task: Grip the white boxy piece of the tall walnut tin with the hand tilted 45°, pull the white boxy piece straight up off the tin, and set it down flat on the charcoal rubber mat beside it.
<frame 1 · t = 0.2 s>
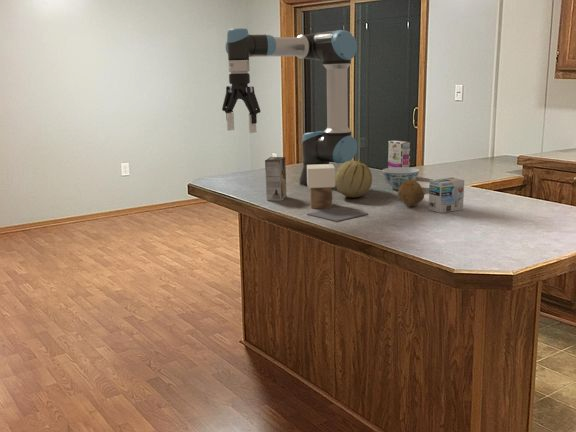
hand: (241, 131, 228), 28 cm above the table, tool pointing down, fingers open, 13 cm apart
chinaware: (400, 188, 258), on the table
candy bar box: (398, 177, 286), on the table
white boxy piece: (320, 185, 228), point 8 cm above the table, touching tin
light bulb box: (445, 210, 217), on the table
cantaloupe: (353, 197, 243), on the table
coffee box: (276, 198, 245), on the table
tin: (321, 205, 229), on the table
mat: (337, 214, 214), on the table
natural sponge: (409, 206, 225), on the table
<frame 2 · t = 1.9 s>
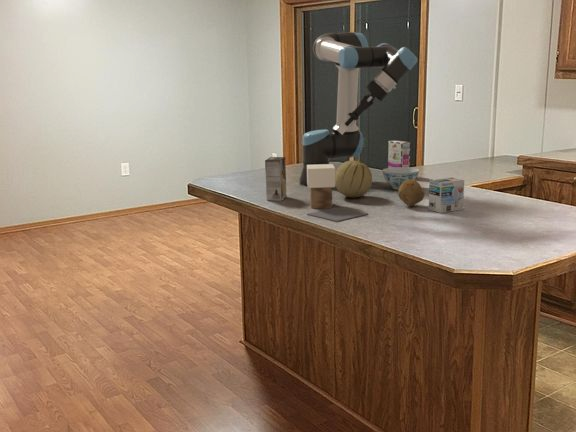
hand: (340, 131, 223), 28 cm above the table, tool tilted 45°, fingers open, 13 cm apart
nothing on the table moved.
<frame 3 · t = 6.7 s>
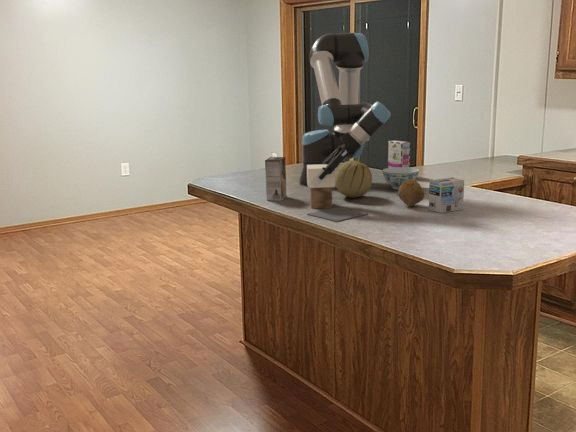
hand: (312, 182, 227), 9 cm above the table, tool tilted 45°, fingers closed on white boxy piece, 10 cm apart
white boxy piece: (320, 185, 228), point 8 cm above the table, touching gripper, tin
everything else where it was.
when the fingers open (4 cm above the table, at t = 14.1 s): white boxy piece drops 3 cm, resting on mat.
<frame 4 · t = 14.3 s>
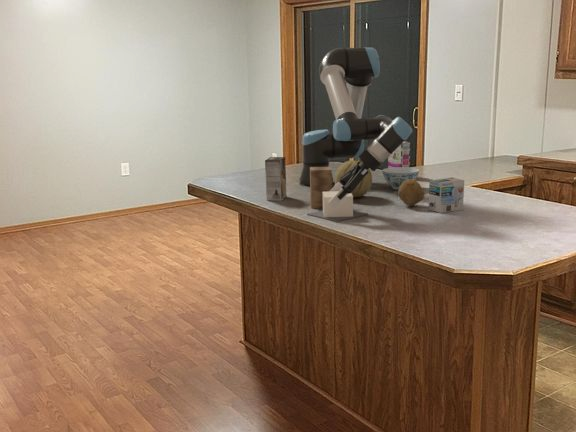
hand: (329, 201, 213), 5 cm above the table, tool tilted 45°, fingers open, 12 cm apart
white boxy piece: (337, 213, 214), resting on mat
everything else where it was.
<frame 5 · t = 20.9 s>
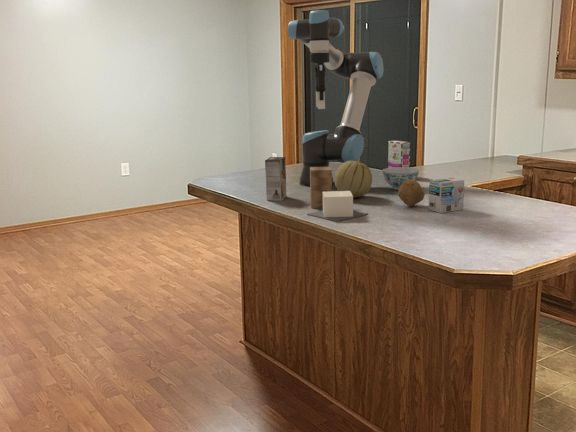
hand: (320, 108, 243), 35 cm above the table, tool pointing down, fingers open, 13 cm apart
nothing on the table moved.
at the end: white boxy piece inside the target area on the mat (0.1 cm from its centre), point 0.4 cm above the mat's base; white boxy piece tilted 0°; white boxy piece touching mat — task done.
